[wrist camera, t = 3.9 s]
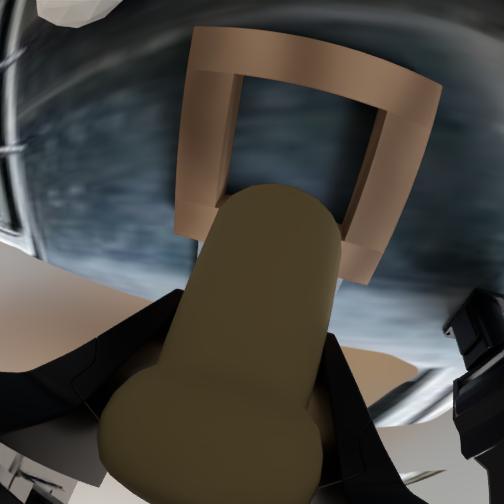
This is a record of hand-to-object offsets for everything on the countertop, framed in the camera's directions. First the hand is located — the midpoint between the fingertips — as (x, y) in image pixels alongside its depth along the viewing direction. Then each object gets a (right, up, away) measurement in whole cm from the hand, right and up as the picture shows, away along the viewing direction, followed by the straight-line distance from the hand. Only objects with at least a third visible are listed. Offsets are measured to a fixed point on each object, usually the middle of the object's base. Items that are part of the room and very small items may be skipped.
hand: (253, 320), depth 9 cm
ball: (-11, +24, +3) cm, 26 cm away
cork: (+1, +3, +4) cm, 5 cm away
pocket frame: (+3, +9, +9) cm, 13 cm away
